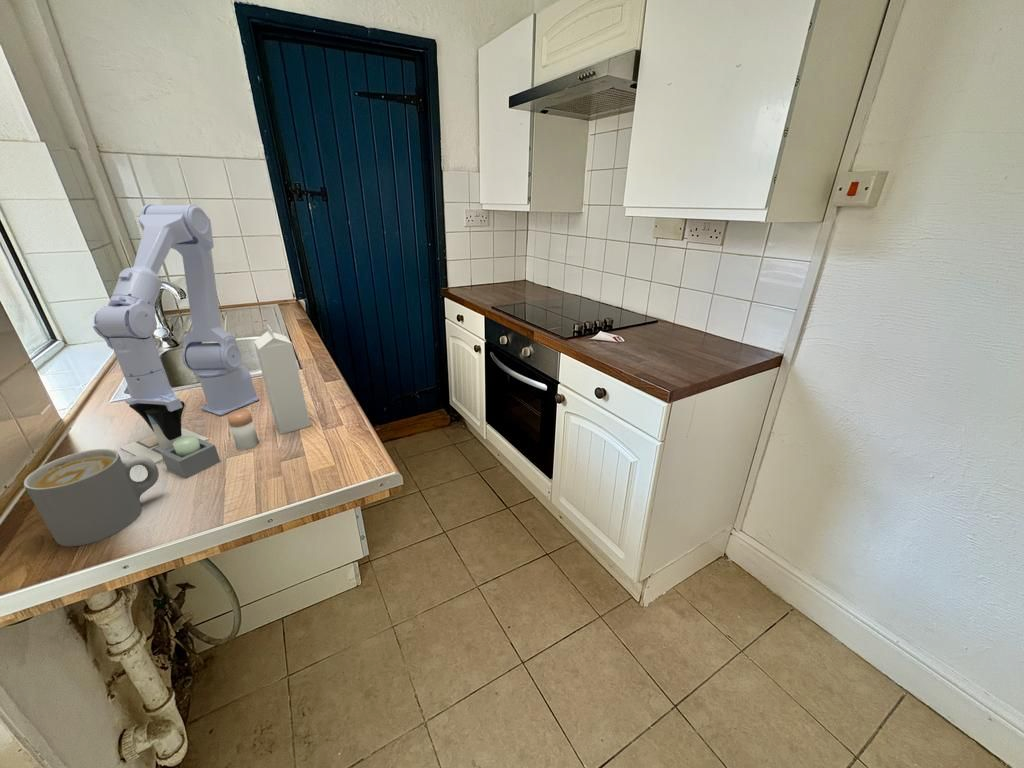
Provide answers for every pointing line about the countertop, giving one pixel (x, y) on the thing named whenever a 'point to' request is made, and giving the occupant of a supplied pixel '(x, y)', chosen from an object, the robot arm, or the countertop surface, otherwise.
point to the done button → (186, 445)
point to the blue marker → (161, 435)
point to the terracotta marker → (243, 429)
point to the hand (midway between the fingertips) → (168, 435)
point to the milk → (282, 381)
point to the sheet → (153, 446)
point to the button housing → (191, 459)
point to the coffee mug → (89, 494)
